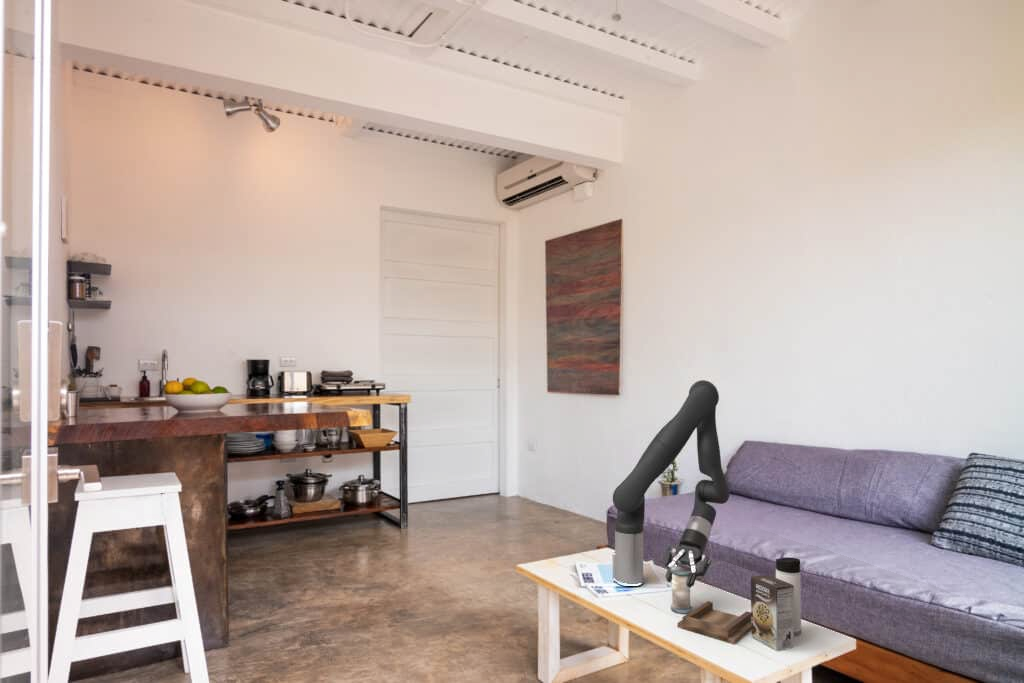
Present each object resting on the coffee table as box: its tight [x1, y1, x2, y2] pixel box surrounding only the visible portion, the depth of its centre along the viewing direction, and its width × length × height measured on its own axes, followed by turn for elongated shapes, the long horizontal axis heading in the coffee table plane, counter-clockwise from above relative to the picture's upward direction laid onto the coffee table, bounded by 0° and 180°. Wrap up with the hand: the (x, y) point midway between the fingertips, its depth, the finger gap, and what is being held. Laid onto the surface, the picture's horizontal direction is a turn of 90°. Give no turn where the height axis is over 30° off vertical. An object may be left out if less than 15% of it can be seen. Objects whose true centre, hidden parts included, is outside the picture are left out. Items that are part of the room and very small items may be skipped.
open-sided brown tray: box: [677, 600, 751, 645], centre depth 177 cm, size 16×16×3 cm
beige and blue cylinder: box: [670, 565, 693, 615], centre depth 189 cm, size 6×6×12 cm
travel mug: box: [775, 556, 802, 637], centre depth 175 cm, size 6×7×20 cm
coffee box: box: [750, 574, 795, 652], centre depth 168 cm, size 9×6×16 cm
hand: (678, 583), depth 188 cm, fingers closed on beige and blue cylinder, 6 cm apart
